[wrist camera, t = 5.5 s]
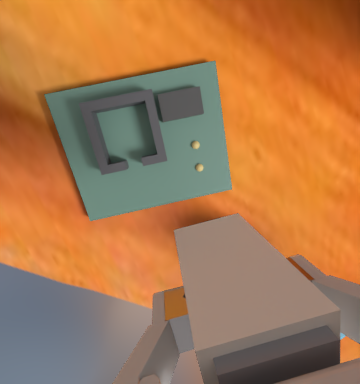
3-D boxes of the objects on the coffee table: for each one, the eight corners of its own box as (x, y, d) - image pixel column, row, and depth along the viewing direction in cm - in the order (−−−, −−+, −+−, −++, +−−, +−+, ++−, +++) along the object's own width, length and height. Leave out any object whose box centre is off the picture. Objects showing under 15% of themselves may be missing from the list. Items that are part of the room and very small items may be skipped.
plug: (237, 213, 12) (354, 323, 5) (247, 274, 13) (351, 431, 6) (173, 229, 12) (198, 369, 5) (189, 290, 13) (227, 471, 6)
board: (212, 64, 24) (220, 53, 21) (229, 187, 29) (237, 193, 26) (49, 96, 24) (33, 90, 21) (93, 217, 28) (85, 227, 25)
